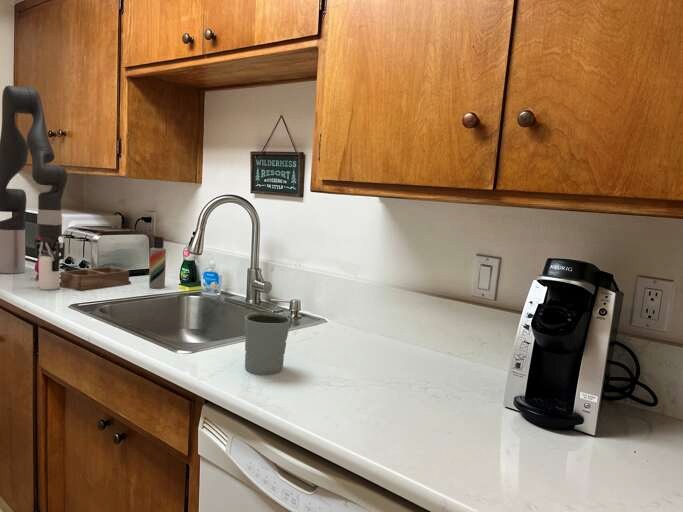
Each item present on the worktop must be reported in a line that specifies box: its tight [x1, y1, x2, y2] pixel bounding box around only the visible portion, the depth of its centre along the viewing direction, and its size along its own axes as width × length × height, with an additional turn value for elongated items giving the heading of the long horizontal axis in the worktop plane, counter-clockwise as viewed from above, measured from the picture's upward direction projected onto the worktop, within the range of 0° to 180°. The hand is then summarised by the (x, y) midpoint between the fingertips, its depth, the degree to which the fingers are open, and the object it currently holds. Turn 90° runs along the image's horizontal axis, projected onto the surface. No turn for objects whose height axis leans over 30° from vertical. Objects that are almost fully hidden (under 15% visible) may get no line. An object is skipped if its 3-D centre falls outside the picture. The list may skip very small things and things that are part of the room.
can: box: [38, 254, 61, 291], centre depth 181 cm, size 6×6×12 cm
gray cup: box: [244, 312, 291, 376], centre depth 117 cm, size 10×10×12 cm
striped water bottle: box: [148, 235, 167, 290], centre depth 196 cm, size 6×6×20 cm
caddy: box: [60, 266, 132, 292], centre depth 193 cm, size 13×21×5 cm, turn 151°
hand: (49, 269), depth 181 cm, fingers closed on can, 6 cm apart
